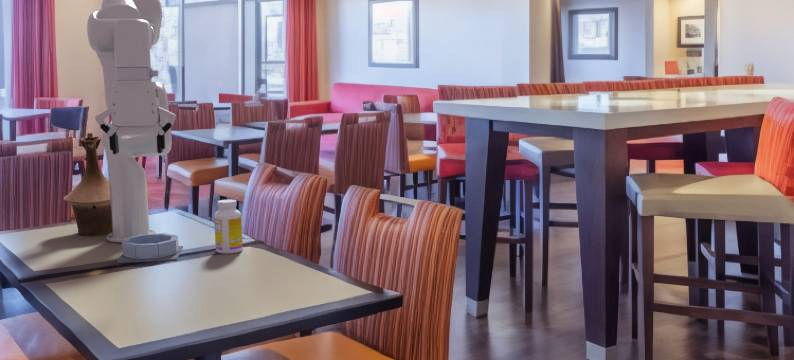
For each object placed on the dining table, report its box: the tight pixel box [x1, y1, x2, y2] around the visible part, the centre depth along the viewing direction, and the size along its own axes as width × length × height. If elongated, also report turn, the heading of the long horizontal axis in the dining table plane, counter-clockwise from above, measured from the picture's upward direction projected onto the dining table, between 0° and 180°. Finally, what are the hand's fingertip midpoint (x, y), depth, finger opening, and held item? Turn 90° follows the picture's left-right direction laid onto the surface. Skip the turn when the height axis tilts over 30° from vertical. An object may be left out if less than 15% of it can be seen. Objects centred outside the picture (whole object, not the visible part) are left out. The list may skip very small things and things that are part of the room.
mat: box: [116, 245, 184, 264], centre depth 204 cm, size 14×14×1 cm
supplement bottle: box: [213, 199, 244, 255], centre depth 206 cm, size 7×7×13 cm
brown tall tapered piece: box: [63, 132, 112, 237], centre depth 230 cm, size 18×17×28 cm
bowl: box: [121, 232, 180, 260], centre depth 203 cm, size 13×13×4 cm
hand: (138, 152), depth 184 cm, fingers open, 9 cm apart
